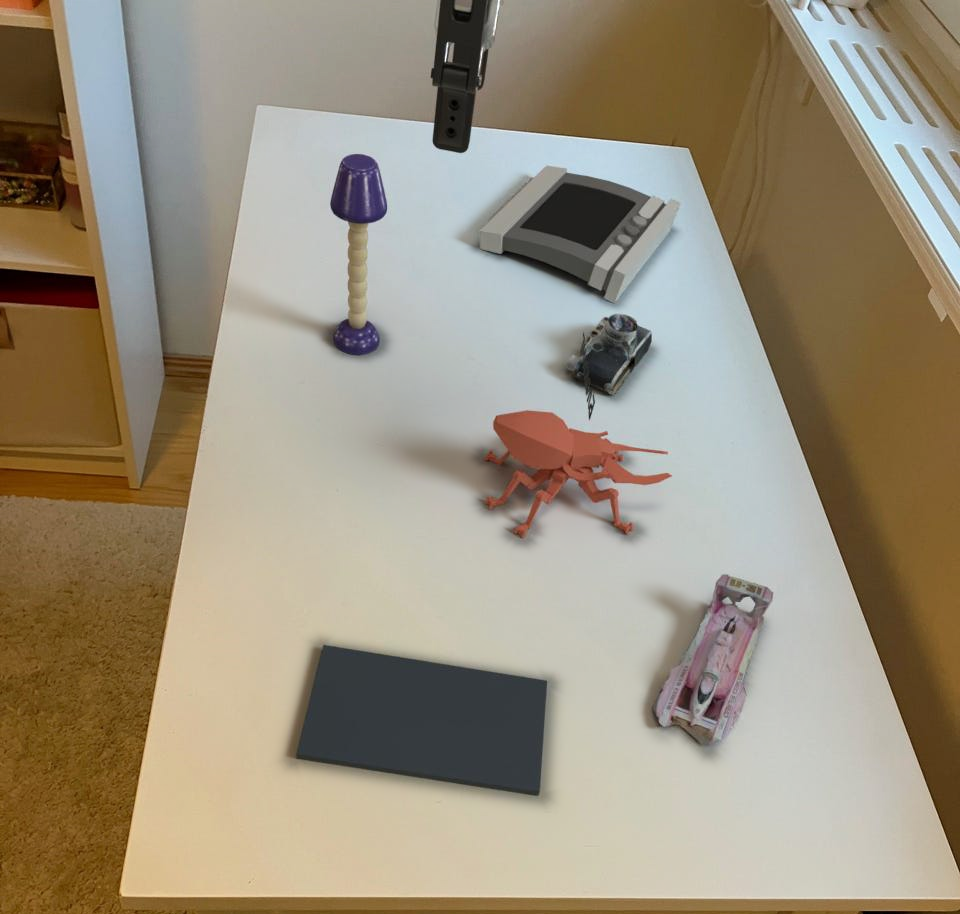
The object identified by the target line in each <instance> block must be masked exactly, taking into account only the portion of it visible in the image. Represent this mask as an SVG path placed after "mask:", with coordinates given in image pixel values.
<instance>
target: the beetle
mask: <svg viewBox="0 0 960 914" xmlns="http://www.w3.org/2000/svg"><path fill="white" fill-rule="evenodd" d="M586 343H587V342H586V336H585V331H582V343H581V347H580V349H581V351H582V349H583V351H582V354H581V355H580V356H581V358H582V356H583V360H582V364H583V362H584V364H583V368H584V372H583V375H585V376H584V380H585V379H586V380H585V382H584V385H585V396H586V397H587V398H586V403H587V410H588V421H590V420H591V419H592V414H593V410H594V409H595V404H596V400H595V393H593V391H592V388H591V387H592V386H591V385H590V378H589V377H588V375H589V370H588V365H587V364H588V361H587V362H586V360H587V354H586V348H585V345H586ZM583 345H584V347H583ZM584 349H585V352H584ZM585 354H586V356H585ZM584 358H585V360H584ZM584 365H585V366H584ZM586 367H587V371H586ZM585 371H586V374H585ZM587 378H588V380H587ZM586 382H587V383H586ZM588 382H589V384H588ZM591 400H592V402H591ZM492 428H493V430H494V432H495V433H496V435H497V437H498V438H499V439H500V441H501V442H502V443H503V445H504V446H505V448H506V449H507V451H506V452H505V453H504V454H503V455H502V457H501V458H500V457H497V455H496V454H494V450H493V449H490V450H489V451H488V452H487V454H486V456H485V457H484V458H483V460H484V462H487V461H490V462H492V463H495V464H497V466H501V465H503V462H504V461H505V460H507V459H508V458H509V457H510V456H512V458H513V459H514V460H516V461H518V462H520V463H522V464H523V465H524V466H526V467H530V468H532V469H538V470H537V471H536V473H534V474H533V475H529V474H528V473H527V472H525V471H524V470H523V469H521V470H520V469H517V470H515V471H514V472H513V477H512V478H511V480H510V482H509V483H508V484H507V487H506V488H505V491H504V492H503V493H502V495H501V496H500V497H499V498H498V499H497V498H496V497H494V498H492V496H491V495H490V496H489V495H488V497H487V498H486V500H485V502H484V503H485V504H486V505H488V510H490V511H492V509H494V507H497V506H503V505H506V501H507V499H508V498H509V497H510V495H511V494H512V493H513V491H514V490H515V489H516V488H517V487H518V485H519V484H520V483H521V484H523V485H524V486H525V487H526V488H527V489H528V490H530V491H531V490H534V489H535V488H537V487H539V486H540V485H542V484H544V483H546V482H547V481H548V482H549V481H550V482H549V484H548V486H547V488H546V490H544V489H542V488H541V489H538V490H537V491H536V493H535V495H534V500H533V503H532V505H531V508H530V511H529V514H528V516H527V518H526V521H524V523H523V524H521V526H520V525H516V526H515V528H514V531H513V533H514V534H515V535H517V534H518V535H520V538H521V539H525V536H526V534H527V533H528V532H527V531H528V530H530V529H531V527H532V523H533V521H534V519H535V517H536V515H537V513H538V511H539V508H540V507H541V505H542V503H545V504H546V505H550V504H551V503H552V501H553V499H554V498H555V497H556V496H557V494H558V493H559V492H560V491H561V490H562V488H563V485H564V484H566V482H567V481H568V480H569V479H572V480H574V481H576V482H578V487H579V488H580V489H582V490H583V491H584V493H585V494H586V495H587V496H588V498H589V499H590V500H591V501H592V502H593V503H595V504H598V503H600V502H603V501H606V500H609V503H610V507H611V513H612V517H613V521H614V522H613V526H614V527H615V528H618V529H619V530H621V531H623V532H624V535H626V536H628V535H630V532H631V531H633V530H634V524H633V522H629V523H626V522H622V521H621V520H620V511H619V497H618V496H619V495H620V493H619V491H618V490H617V488H613V487H609V488H605V489H601V490H600V489H598V486H597V485H596V483H595V481H598V480H601V479H610V480H612V482H613V483H614V484H633V485H640V486H647V485H653V484H658V483H661V482H663V481H665V480H667V479H669V478H672V477H673V475H672V474H670V473H669V472H664V473H659V474H652V475H637V474H634V473H632V472H630V471H628V469H625V468H624V467H622V465H620V464H619V463H618V461H619V462H623V461H624V456H623V454H619V453H618V452H642V453H651V454H660V455H669V451H665V450H657V449H650V448H649V449H648V448H642V447H633V446H628V445H625V444H621V443H614V442H611V440H609V439H608V438H607V437H605V436H608V435H609V432H608V431H607V430H606V431H602V432H599V433H598V432H586V431H584V430H583V431H582V430H578V429H575V428H571V427H570V428H569V427H568V425H567V424H566V423H565V420H564V419H562V418H561V417H560V416H558V415H557V414H555V413H553V411H551V412H549V411H539V410H529V409H527V410H521V411H514V412H509V413H504V414H497V415H495V417H494V419H493V421H492ZM602 437H605V438H602ZM600 467H601V468H602V469H601V471H599V472H594V470H593V468H594V469H595V468H596V469H599V468H600Z"/></svg>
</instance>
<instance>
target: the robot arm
mask: <svg viewBox="0 0 960 914" xmlns="http://www.w3.org/2000/svg"><path fill="white" fill-rule="evenodd" d="M504 2H505V0H437V4H436V10H435V15H434V16H435V17H434V23H433V25H434V32H435V36H436V40H435V41H436V42H435V51H434V61H433V67H431V70H430V79H432V81H431V82H432V83H431V85H432V87H437V90H436V99H435V101H436V102H435V110H434V120H433V131H432V144H433V146H434V147H435V148H436V149H438V150H441V151H447V152H453V153H458V154H464V153H466V152H467V151H468V150H469V146H470V142H471V135H472V127H473V119H474V113H475V112H474V111H475V103H476V95H477V92H478V91H480V90H481V89H483V88H484V84H485V80H486V73H487V72H486V71H487V67H488V66H487V65H488V57H489V51H490V49H491V48H492V47H493V45H494V44H495V40H496V32H497V28H498V27H497V26H498V20H499V13H500V8H501V6H502V5H504ZM452 44H453V51H452V61H449V55H450V48H451V46H452Z"/></svg>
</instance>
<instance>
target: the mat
mask: <svg viewBox="0 0 960 914" xmlns="http://www.w3.org/2000/svg"><path fill="white" fill-rule="evenodd" d="M319 656H320V657H319V661H318V665H317V668H316V673H315V677H314V681H313V685H312V689H311V693H310V697H309V701H308V705H307V709H306V714H305V718H304V722H303V726H302V730H301V734H300V738H299V743H298V746H297V750H296V759H297V760H304V761H311V762H317V763H322V764H329V765H336V766H344V767H350V768H355V769H362V770H369V771H375V772H381V773H382V772H383V773H388V774H395V775H400V776H401V775H402V776H407V777H414V778H420V779H428V780H433V781H440V782H447V783H452V784H458V785H466V786H472V787H479V788H485V789H491V790H497V791H505V792H509V793H510V792H512V793H516V794H517V793H518V794H525V795H531V796H537V797H538V796H539V795H540V793H541V781H542V766H543V752H544V736H545V735H544V734H545V720H546V708H547V707H546V706H547V705H546V704H547V691H548V680H545V679H539V678H532V677H528V676H521V675H515V674H508V673H501V672H497V671H490V670H483V669H477V668H471V667H465V666H458V665H452V664H446V663H439V662H433V661H427V660H421V659H416V658H415V659H414V658H408V657H402V656H395V655H390V654H384V653H383V654H382V653H377V652H371V651H365V650H358V649H353V648H352V649H351V648H348V647H347V648H345V647H339V646H334V645H327V644H323V645H322V648H321V652H320V655H319Z"/></svg>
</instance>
